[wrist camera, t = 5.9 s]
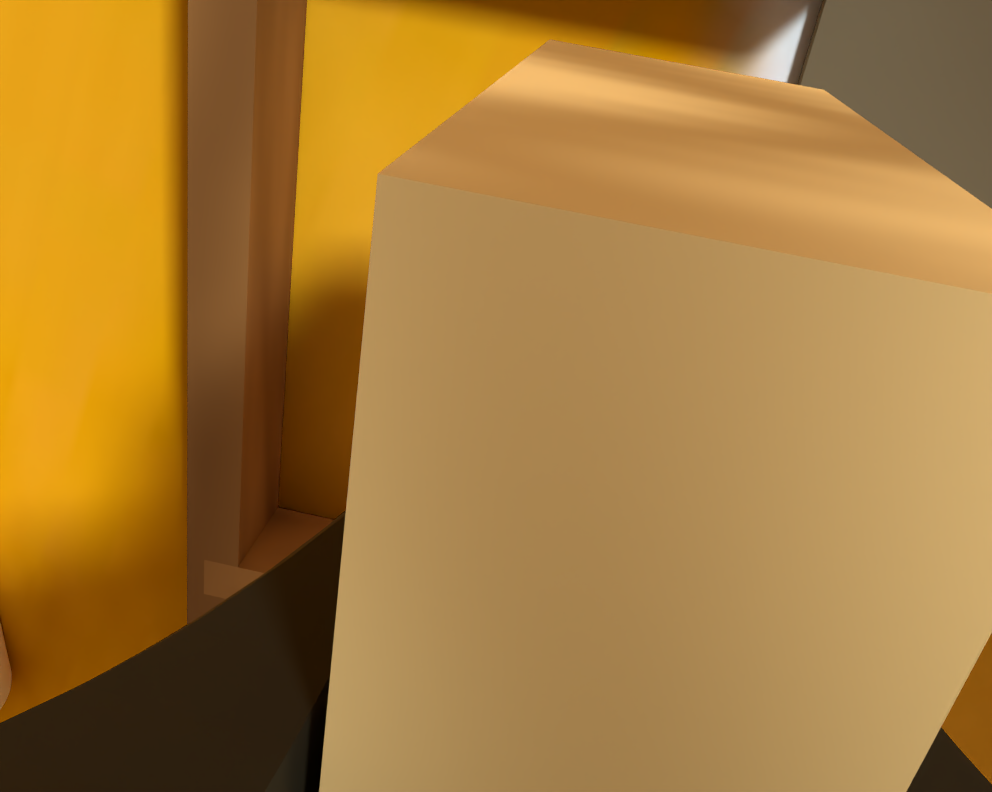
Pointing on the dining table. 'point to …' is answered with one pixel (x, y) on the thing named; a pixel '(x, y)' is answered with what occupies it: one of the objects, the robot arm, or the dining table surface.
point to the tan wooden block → (662, 445)
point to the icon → (4, 671)
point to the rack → (240, 288)
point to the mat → (914, 77)
